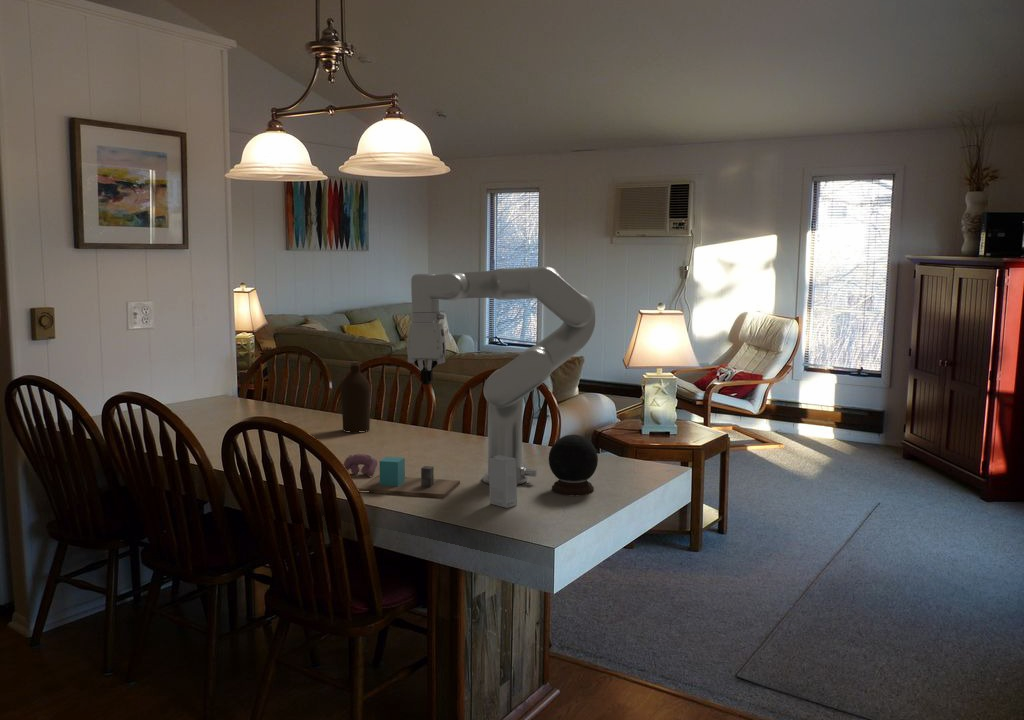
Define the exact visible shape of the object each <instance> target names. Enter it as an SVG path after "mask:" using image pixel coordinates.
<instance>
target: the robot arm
mask: <svg viewBox="0 0 1024 720" xmlns="http://www.w3.org/2000/svg"><path fill="white" fill-rule="evenodd" d="M410 281H411V283H410V284H411V285H410V288H411V289H410V291H411V293H410V294H411V323H409V327H408V333H407V334H408V335H407V346H406V349H407V350H406V352H407V363H409V364H413V365H415V366H416V367H417V368H418V369H419V371H420V381H421V382H422V385H426V386H429V385H430V384H432V382H433V379H434V377H433V375H434V368H436V367H437V365H441V364H444V363H446V354H447V350H446V349H447V348H446V347H447V346H446V338H445V336H446V335H445V331H444V325H443V323H442V322H441V320H444V319H445V315H444V314H441V311H440V300H443V301H457V300H462V299H496V300H501V301H502V300H504V301H506V300H507V301H508V300H526V299H528V300H529V299H531V300H532V299H537V300H538V302H540V303H541V304H542V305H543V306H545V307H546V308H547V309H548V310H549V311H550V312H551V313H553V314H554V315H555V316H557V318H559V319H560V320H561V321H562V324H561V325H560V326H559V327H558V328H557V329H556V330H554V331H553V332H551V333H550V334H549V335H548V336H546V337H545V338H544V339H542V340H540V341H539V342H537V343H536V344H534V345H533V346H530V347H528V348H526V349H525V350H524V351H523V352H522V353H520V354H519V355H518V356H517V357H515V358H514V359H513V360H511V361H509V362H508V363H506V365H504V366H503V367H501V368H498V369H496V370H494V372H493V373H491V374H490V375H489V377H487V379H486V380H485V381H484V385H483V391H482V392H483V396H484V398H485V400H486V401H487V403H488V408H487V411H488V412H487V413H488V414H487V420H488V421H487V472H486V473H484V474H483V475H482V476H481V477H482V481H483V482H484V483H486V484H488V485H489V458H490V457H494V456H497V455H501V456H506V457H510V458H515V459H516V479H517V486H518V485H521V484H524V483H526V482H527V481H528V477H535V478H536V477H538V470H537V469H535V467H534V468H529V467H526V466H525V465H526V464H525V462H523V407H524V406H523V405H524V397H525V396H526V395H528V394H530V393H531V392H532V391H533V390H535V389H537V387H539V386H540V385H542V384H543V383H544V382H545V381H546V380H548V379H549V377H550V376H551V374H553V372H554V371H555V370H556V369H558V368H559V367H560V366H561V365H563V364H565V363H566V362H567V361H568V360H569V359H571V358H572V357H574V356H575V355H576V354H578V353H579V352H580V351H582V349H583V348H584V347H585V346H586V345H587V344H588V342H590V341H589V340H590V339H591V337H592V335H593V333H594V330H595V327H596V309H595V305H594V302H593V300H592V299H591V298H590V297H588V296H587V295H585V294H582V293H581V292H579V291H578V290H577V289H576V288H574V287H573V286H571V284H570V283H568V282H567V280H564V278H562V276H561V275H560V273H559V272H558V270H556V269H555V268H553V267H551V266H530V267H510V268H506V267H505V268H503V267H502V268H496V269H493V270H484V271H467V272H466V271H463V272H447V273H441V274H435V273H415V274H413V275H412V276H411V279H410ZM426 360H427V365H426Z"/></svg>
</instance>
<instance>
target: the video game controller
mask: <svg viewBox="0 0 1024 720" xmlns="http://www.w3.org/2000/svg"><path fill="white" fill-rule="evenodd" d="M343 465H344V466H345V468H346V469H347V470H348V471H349V470H350V471H351V473H352V474H354V473H357V474H359V473H360V472H361V473H362V474H363V475H364V474H367V477H368V478H369V477H370V476H372V477H373V476H374V475H375V472H376V469H377V467H378V460H377V459H376V458H375V457H373V456H372V455H369V454H364V453H356V454H349V455H348V456H347V457H346V458H345V460H344V462H343V464H342V466H343ZM359 465H362V467H361V469H360V467H359ZM358 472H359V473H358ZM370 478H371V477H370Z"/></svg>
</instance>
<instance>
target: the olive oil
mask: <svg viewBox="0 0 1024 720" xmlns="http://www.w3.org/2000/svg"><path fill="white" fill-rule="evenodd" d="M360 363H361V362H360V361H356V360H355V361H353V360H352V361H350V365H349V367H350V372H349V374H348V375H347V376H346V377H345V378H344V379H343V381H342V382H341V385H340V401H341V413H342V414H341V415H342V431H343V430H345V431H350V432H359V431H366V430H369V431H370V427H371V426H370V424H371V422H370V421H371V420H370V419H371V418H370V417H371V396H372V395H371V392H372V388H371V384H370V382H369V380H368V379H367V378H366V377H365V376H364V375H363V374H362V372H361V365H360Z"/></svg>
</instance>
